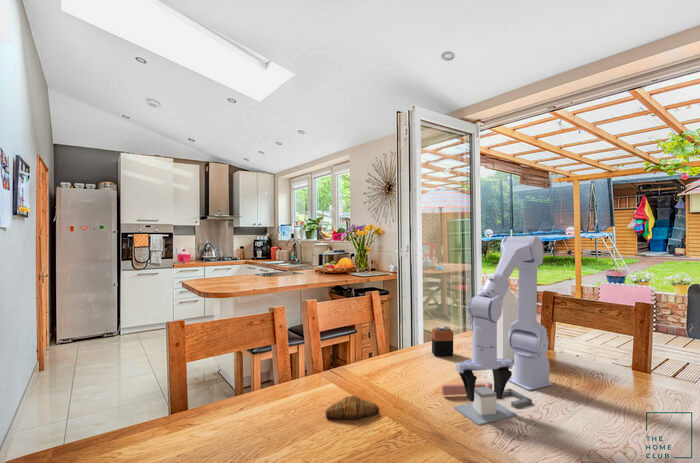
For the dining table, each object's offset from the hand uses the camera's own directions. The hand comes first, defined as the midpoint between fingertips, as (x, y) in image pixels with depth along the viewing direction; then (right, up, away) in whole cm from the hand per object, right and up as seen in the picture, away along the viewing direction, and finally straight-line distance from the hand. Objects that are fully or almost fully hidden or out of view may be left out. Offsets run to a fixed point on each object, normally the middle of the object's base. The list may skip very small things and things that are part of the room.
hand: (484, 398), depth 91 cm
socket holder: (+9, -3, +6) cm, 12 cm away
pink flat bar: (-1, -3, +9) cm, 9 cm away
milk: (+22, -3, +42) cm, 47 cm away
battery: (0, -3, +41) cm, 41 cm away
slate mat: (0, -3, 0) cm, 3 cm away
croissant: (-33, -4, -2) cm, 33 cm away
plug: (0, -3, 0) cm, 3 cm away
